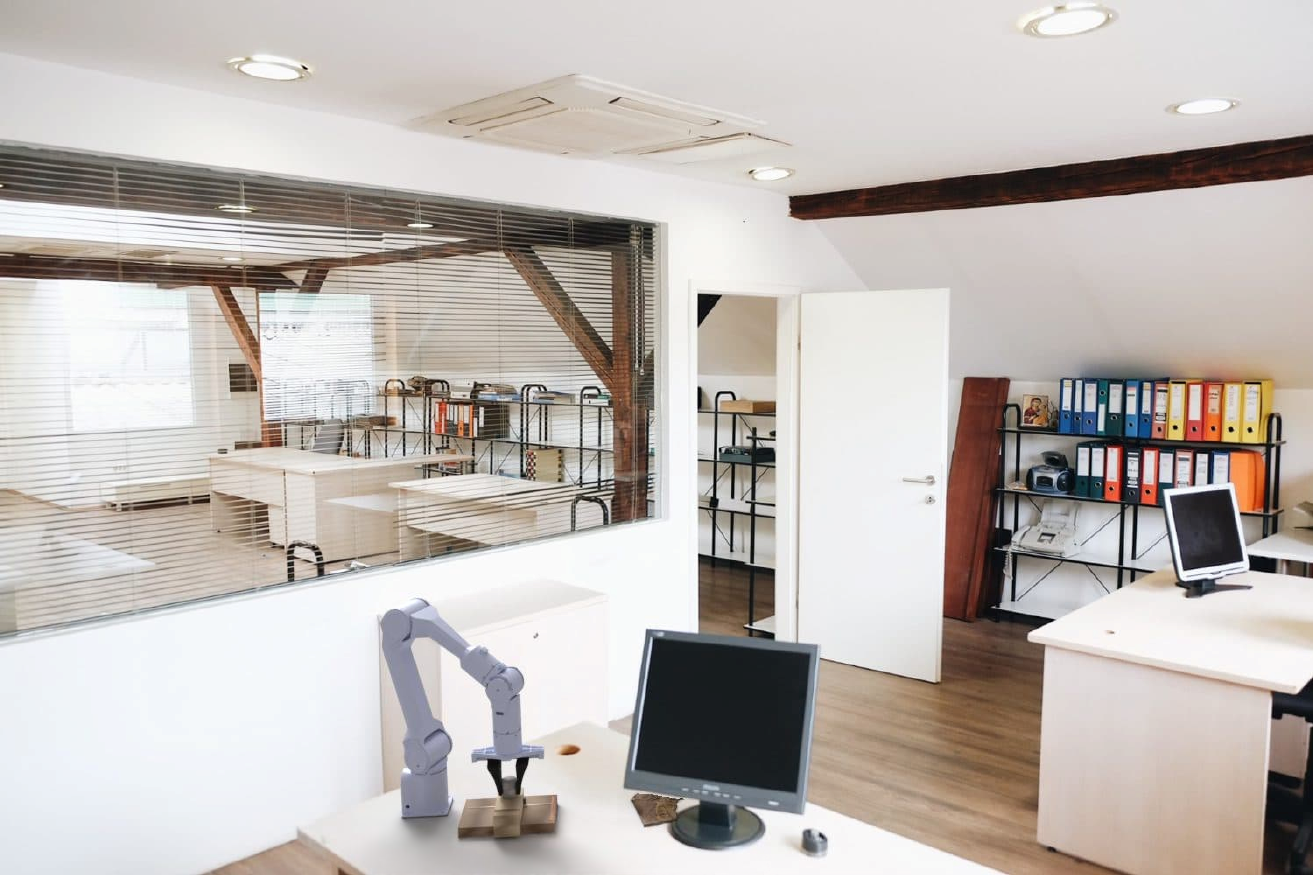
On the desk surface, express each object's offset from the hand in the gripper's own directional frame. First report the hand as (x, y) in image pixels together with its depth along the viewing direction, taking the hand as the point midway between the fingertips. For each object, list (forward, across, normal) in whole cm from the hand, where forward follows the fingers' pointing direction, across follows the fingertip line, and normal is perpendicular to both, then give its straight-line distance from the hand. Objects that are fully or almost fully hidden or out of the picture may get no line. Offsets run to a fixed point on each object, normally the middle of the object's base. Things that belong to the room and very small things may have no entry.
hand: (509, 793), depth 194 cm
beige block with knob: (+5, 0, -2) cm, 5 cm away
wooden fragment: (+6, +31, +7) cm, 32 cm away
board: (+6, 0, 0) cm, 6 cm away
